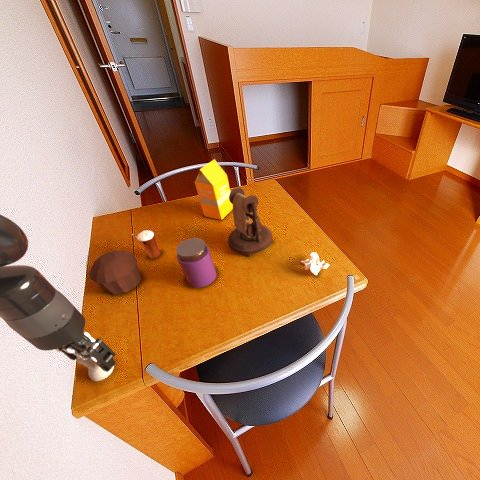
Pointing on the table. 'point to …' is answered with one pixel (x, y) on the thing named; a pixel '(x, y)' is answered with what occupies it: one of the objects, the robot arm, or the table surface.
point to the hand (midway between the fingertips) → (94, 361)
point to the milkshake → (148, 243)
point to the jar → (199, 270)
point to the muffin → (116, 272)
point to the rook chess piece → (94, 369)
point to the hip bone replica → (314, 264)
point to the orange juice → (213, 191)
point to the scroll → (247, 225)
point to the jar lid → (191, 249)
